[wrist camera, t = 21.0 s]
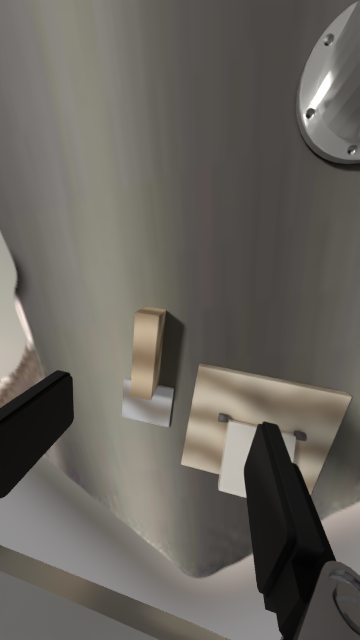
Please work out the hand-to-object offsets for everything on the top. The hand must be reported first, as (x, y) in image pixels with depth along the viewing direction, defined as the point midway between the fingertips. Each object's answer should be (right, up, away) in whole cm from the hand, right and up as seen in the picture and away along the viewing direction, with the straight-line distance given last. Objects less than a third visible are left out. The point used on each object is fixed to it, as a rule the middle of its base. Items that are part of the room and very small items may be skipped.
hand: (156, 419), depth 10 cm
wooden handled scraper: (-3, -3, +21) cm, 21 cm away
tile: (+12, -15, +17) cm, 25 cm away
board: (+12, -12, +20) cm, 27 cm away
